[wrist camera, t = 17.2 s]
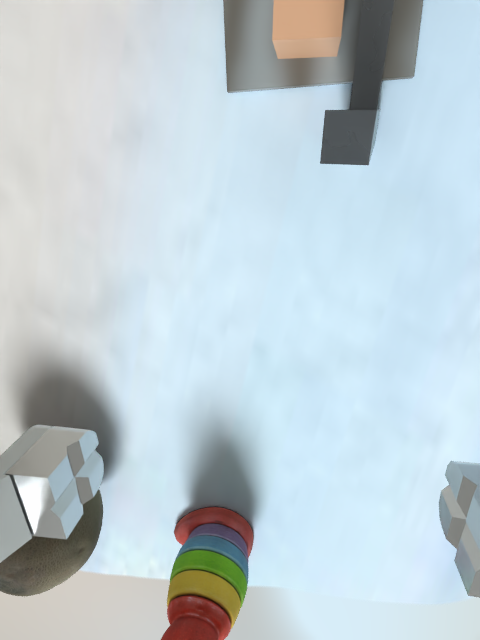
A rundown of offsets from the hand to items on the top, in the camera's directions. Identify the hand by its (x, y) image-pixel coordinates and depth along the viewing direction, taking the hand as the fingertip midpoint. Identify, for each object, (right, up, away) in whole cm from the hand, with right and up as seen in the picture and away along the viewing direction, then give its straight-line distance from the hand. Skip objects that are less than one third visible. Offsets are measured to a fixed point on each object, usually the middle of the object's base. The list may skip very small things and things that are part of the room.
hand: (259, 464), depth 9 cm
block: (+5, +26, +19) cm, 32 cm away
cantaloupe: (-23, -18, +43) cm, 52 cm away
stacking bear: (-3, -26, +43) cm, 50 cm away
